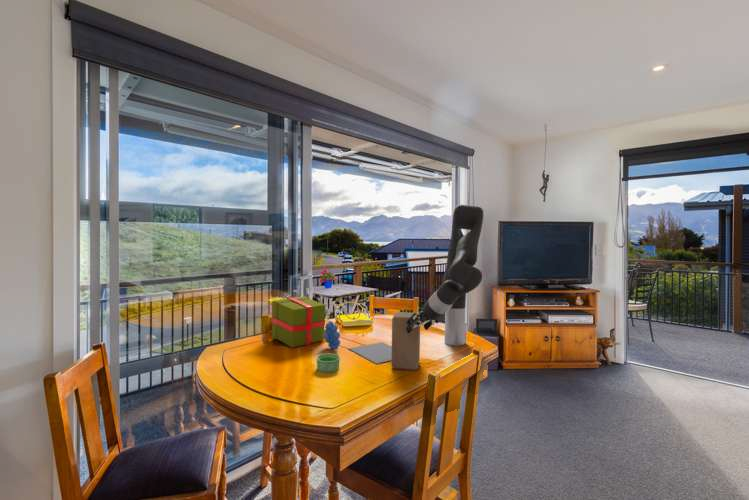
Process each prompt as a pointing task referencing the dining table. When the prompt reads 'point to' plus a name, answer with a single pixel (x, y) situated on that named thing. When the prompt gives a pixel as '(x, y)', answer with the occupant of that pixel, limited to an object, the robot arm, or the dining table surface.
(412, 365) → the block
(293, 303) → the gift box
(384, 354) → the mat
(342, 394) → the dining table surface
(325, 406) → the dining table surface
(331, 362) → the ramekin
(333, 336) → the grapes
